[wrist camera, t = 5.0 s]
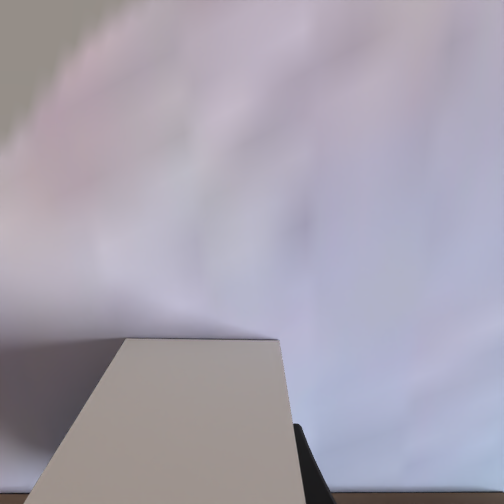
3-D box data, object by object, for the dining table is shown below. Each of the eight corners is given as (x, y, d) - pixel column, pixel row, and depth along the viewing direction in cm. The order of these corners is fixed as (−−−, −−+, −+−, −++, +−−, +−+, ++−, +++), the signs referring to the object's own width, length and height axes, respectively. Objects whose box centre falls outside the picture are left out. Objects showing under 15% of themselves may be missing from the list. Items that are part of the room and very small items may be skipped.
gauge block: (270, 473, 12) (287, 720, 7) (144, 472, 12) (65, 723, 7) (279, 340, 10) (313, 553, 5) (125, 338, 10) (-9, 555, 5)
